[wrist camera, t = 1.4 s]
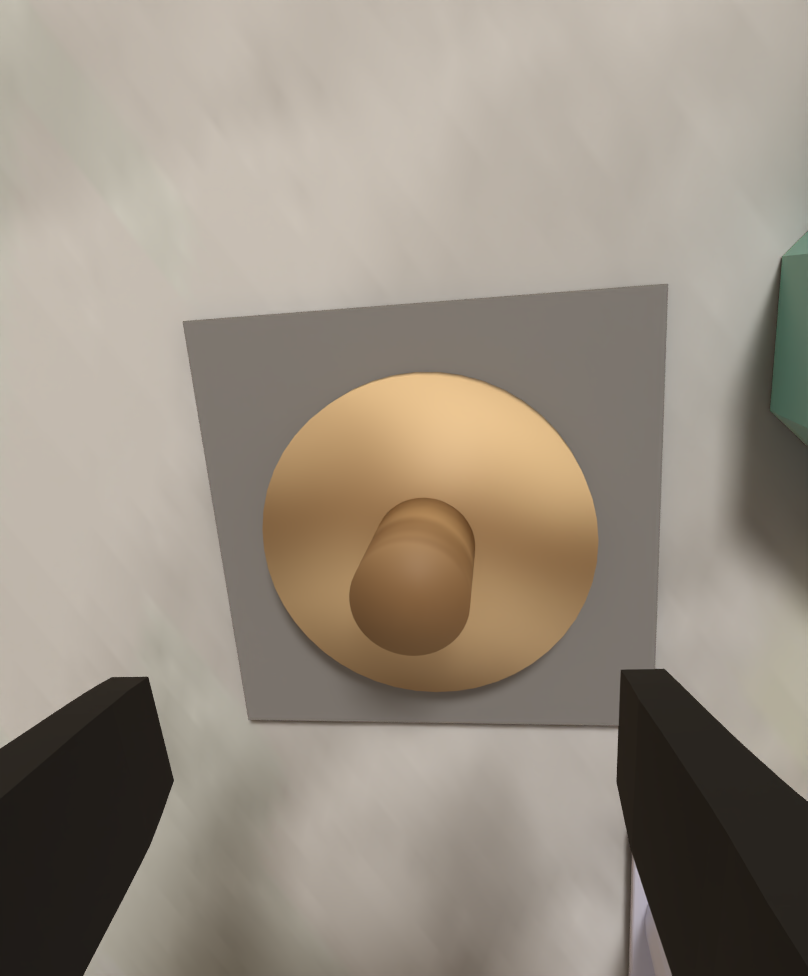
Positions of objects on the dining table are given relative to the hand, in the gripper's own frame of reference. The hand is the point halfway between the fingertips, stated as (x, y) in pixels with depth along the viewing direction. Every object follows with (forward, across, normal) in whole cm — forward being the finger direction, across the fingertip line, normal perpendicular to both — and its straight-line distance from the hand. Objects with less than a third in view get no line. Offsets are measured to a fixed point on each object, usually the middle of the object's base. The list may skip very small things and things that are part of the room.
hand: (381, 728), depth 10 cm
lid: (+10, 0, +1) cm, 10 cm away
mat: (+10, 0, +1) cm, 10 cm away
